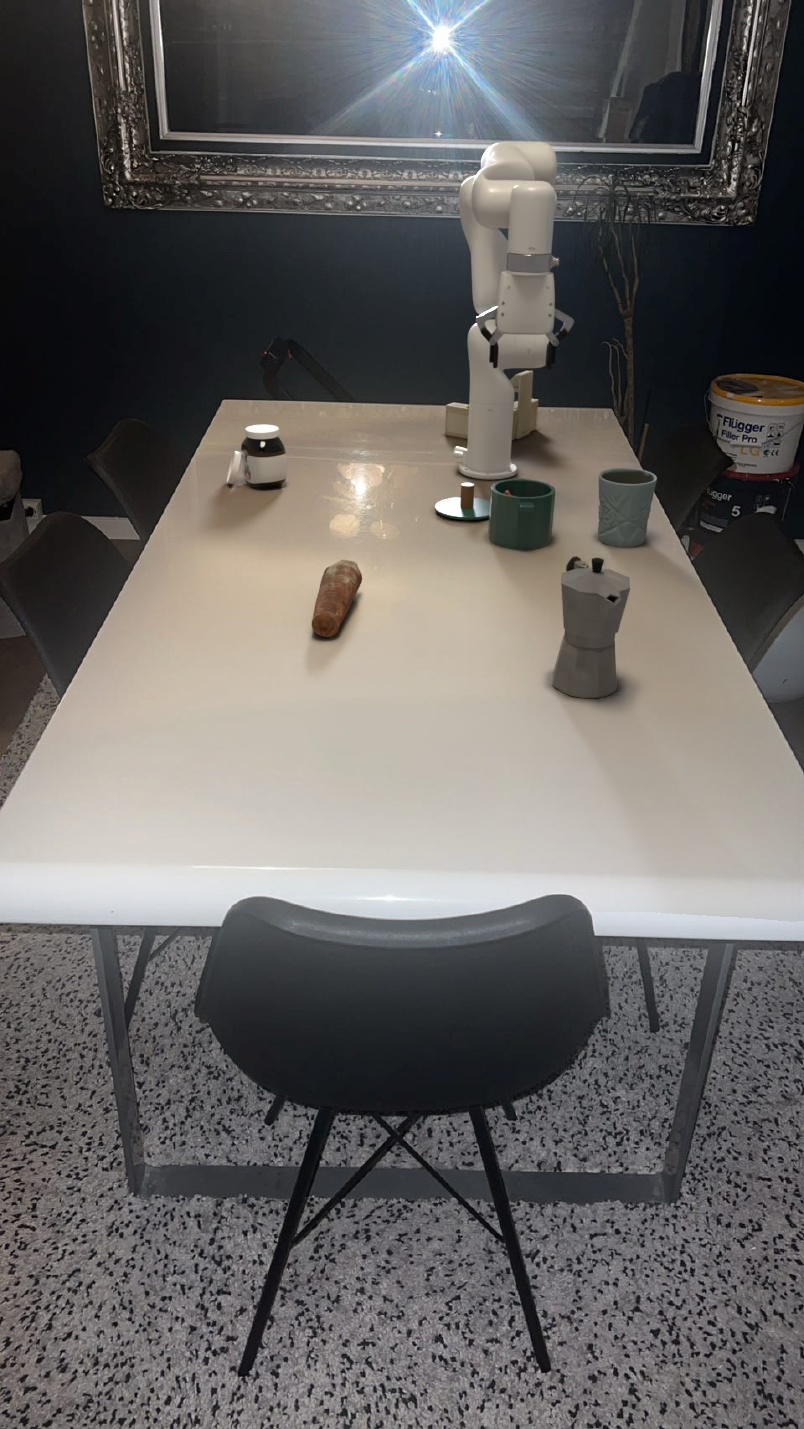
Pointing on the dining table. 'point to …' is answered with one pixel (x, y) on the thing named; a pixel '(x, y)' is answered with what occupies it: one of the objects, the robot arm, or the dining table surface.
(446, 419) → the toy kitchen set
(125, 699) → the dining table surface
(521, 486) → the pot
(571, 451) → the dining table surface
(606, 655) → the coffeepot
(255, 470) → the spread jar
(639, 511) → the light blue cup
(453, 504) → the pot lid
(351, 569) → the brown root vegetable
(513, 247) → the robot arm
